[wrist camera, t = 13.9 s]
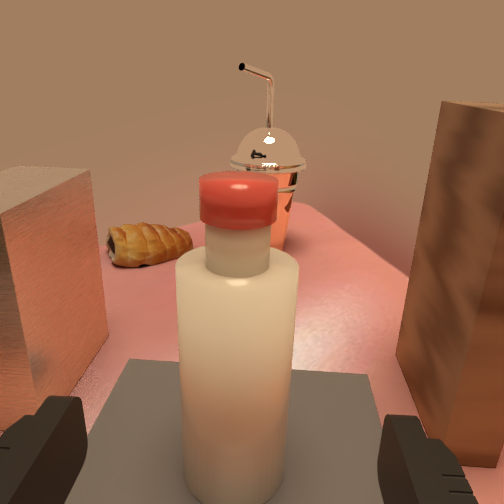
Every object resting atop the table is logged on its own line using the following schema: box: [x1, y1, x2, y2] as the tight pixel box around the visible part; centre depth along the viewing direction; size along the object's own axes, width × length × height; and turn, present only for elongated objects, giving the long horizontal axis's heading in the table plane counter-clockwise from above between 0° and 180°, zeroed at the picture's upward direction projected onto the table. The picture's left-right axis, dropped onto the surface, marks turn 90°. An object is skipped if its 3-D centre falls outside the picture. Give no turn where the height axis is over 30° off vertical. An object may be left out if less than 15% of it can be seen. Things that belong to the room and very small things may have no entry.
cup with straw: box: [230, 63, 307, 251], centre depth 48 cm, size 8×9×20 cm
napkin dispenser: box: [0, 166, 109, 430], centre depth 27 cm, size 10×5×13 cm, turn 176°
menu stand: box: [396, 101, 504, 468], centre depth 25 cm, size 10×4×18 cm, turn 176°
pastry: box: [106, 223, 193, 268], centre depth 49 cm, size 9×7×4 cm
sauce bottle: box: [175, 171, 299, 504], centre depth 19 cm, size 5×5×14 cm
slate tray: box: [64, 359, 384, 504], centre depth 22 cm, size 16×16×1 cm
